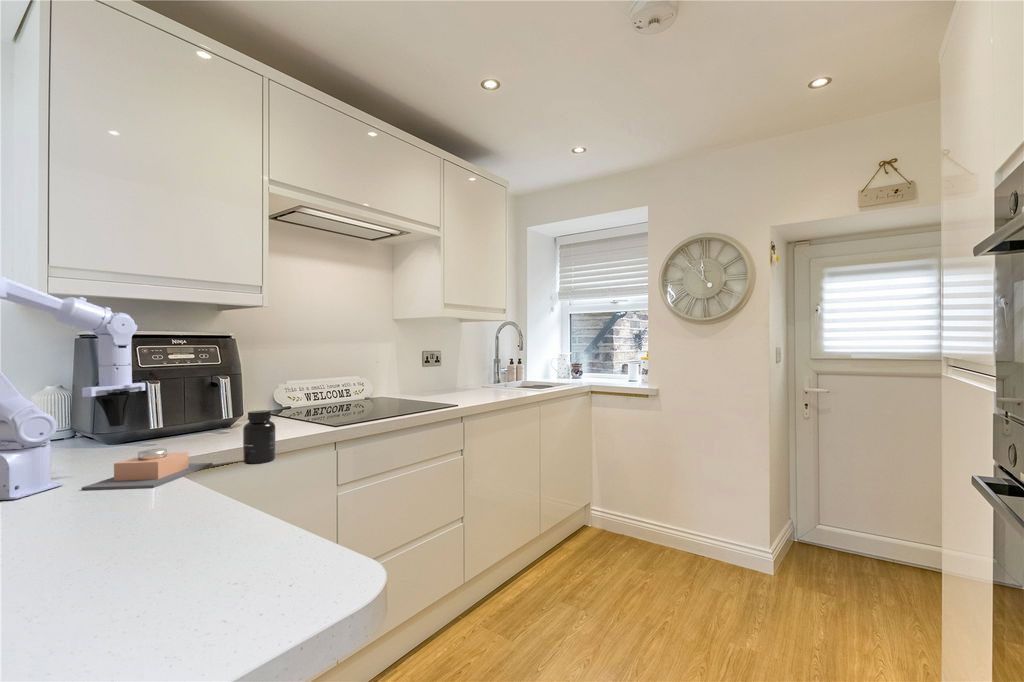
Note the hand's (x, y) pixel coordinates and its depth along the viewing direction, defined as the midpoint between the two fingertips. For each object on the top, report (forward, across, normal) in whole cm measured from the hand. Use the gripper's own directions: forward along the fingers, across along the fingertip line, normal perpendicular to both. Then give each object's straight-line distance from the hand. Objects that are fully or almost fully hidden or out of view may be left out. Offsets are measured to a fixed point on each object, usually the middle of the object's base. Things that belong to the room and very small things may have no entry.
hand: (116, 425), depth 104 cm
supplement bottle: (+11, +6, -29) cm, 31 cm away
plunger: (+10, -5, -12) cm, 16 cm away
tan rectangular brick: (+10, -5, -12) cm, 17 cm away
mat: (+10, -5, -12) cm, 17 cm away
